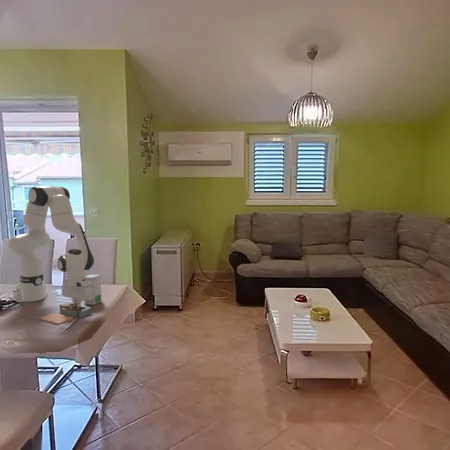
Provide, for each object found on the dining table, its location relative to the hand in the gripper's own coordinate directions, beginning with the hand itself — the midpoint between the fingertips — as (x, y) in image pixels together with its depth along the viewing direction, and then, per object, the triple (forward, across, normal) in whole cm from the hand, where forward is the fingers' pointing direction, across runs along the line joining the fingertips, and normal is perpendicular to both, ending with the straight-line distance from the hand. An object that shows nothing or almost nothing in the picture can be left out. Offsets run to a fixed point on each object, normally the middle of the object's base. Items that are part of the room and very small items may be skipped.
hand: (77, 306), depth 218 cm
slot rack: (+4, -2, 0) cm, 4 cm away
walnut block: (+4, -6, 0) cm, 7 cm away
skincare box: (+4, -8, +18) cm, 20 cm away
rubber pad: (+4, -2, -11) cm, 12 cm away
